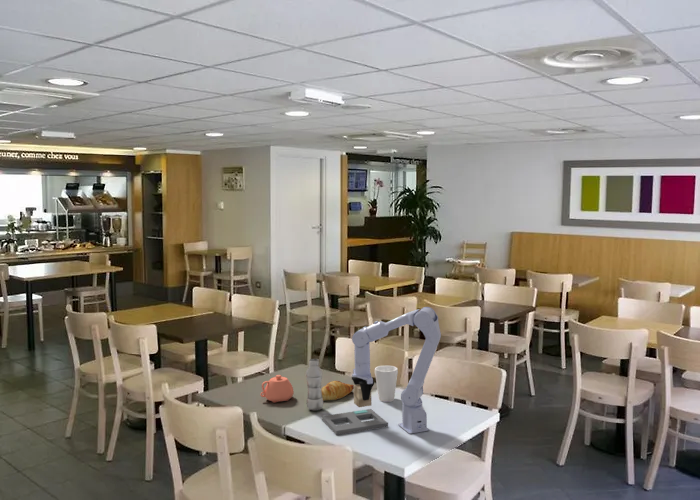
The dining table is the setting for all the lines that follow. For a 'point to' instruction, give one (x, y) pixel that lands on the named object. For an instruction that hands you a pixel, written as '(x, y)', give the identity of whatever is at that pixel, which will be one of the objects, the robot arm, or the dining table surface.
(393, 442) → the dining table surface
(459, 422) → the dining table surface
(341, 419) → the socket panel
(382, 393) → the foam cup
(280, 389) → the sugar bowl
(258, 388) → the dining table surface
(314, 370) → the plastic bottle
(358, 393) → the plug
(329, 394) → the croissant
